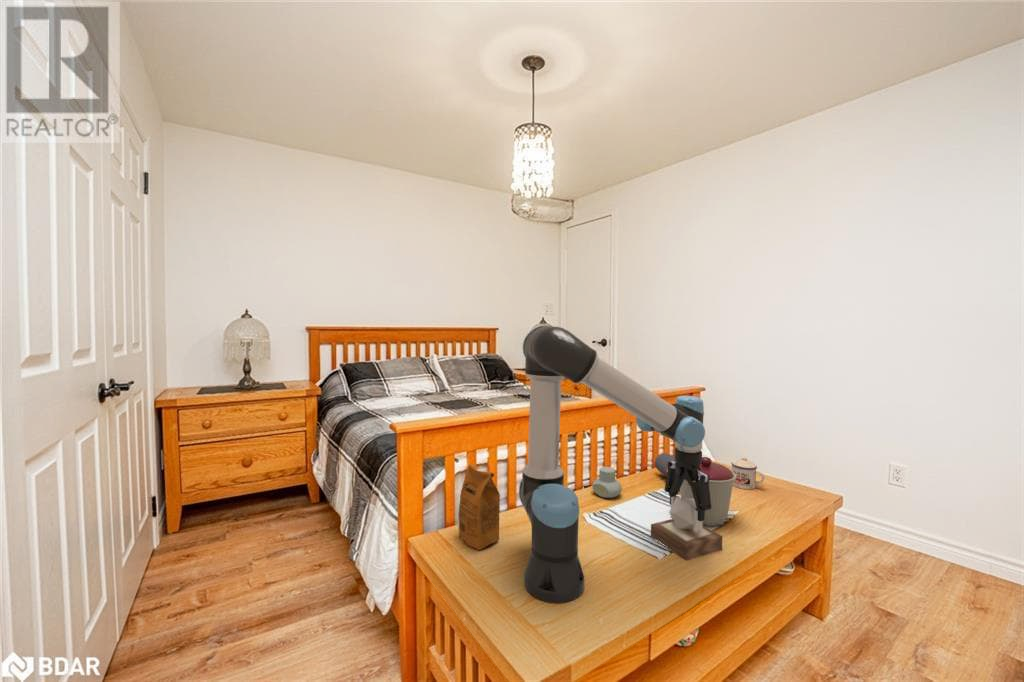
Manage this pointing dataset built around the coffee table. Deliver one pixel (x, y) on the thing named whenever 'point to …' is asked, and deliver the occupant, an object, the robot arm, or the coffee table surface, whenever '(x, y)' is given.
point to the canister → (714, 491)
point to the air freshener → (607, 483)
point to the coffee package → (479, 509)
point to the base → (686, 539)
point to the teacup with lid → (745, 474)
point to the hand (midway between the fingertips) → (685, 523)
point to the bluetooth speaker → (663, 462)
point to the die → (683, 512)
